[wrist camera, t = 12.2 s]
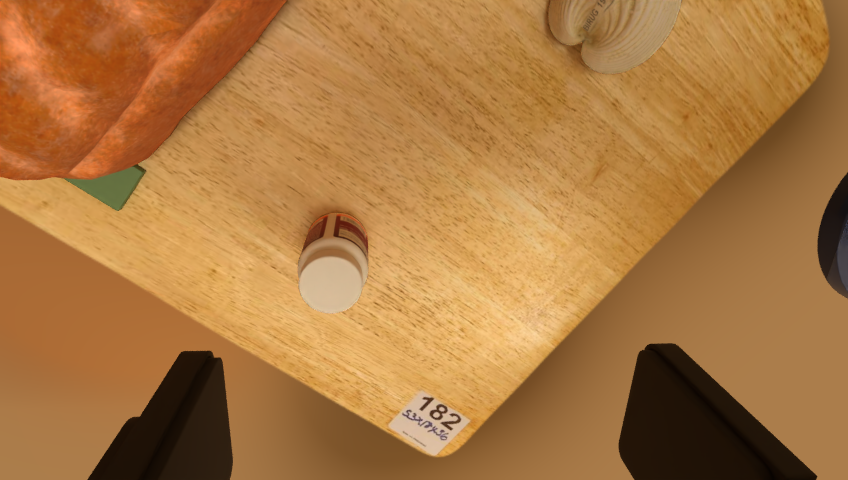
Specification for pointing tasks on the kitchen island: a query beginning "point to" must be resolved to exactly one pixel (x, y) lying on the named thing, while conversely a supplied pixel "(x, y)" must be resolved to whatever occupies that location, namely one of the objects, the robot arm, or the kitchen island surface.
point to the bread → (110, 77)
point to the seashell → (613, 30)
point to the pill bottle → (333, 263)
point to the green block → (112, 186)
